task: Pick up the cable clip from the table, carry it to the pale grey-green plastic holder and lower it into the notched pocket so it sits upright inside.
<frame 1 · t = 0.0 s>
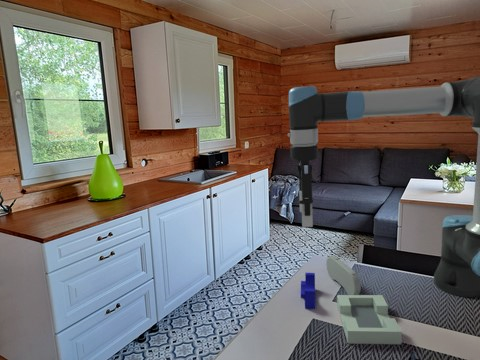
hand: (305, 218, 102), 28 cm above the table, tool pointing down, fingers open, 13 cm apart
slide sandal: (342, 286, 119), on the table
holder: (366, 323, 98), on the table
cable clip: (307, 299, 112), on the table
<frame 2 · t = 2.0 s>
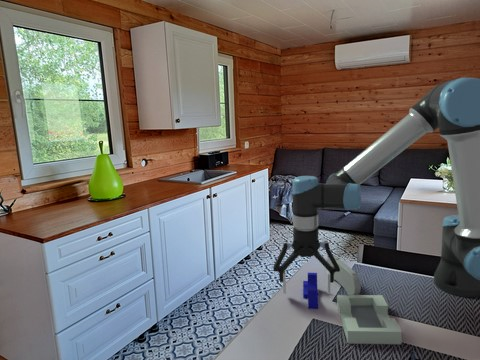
hand: (306, 291, 112), 2 cm above the table, tool pointing down, fingers open, 13 cm apart
nothing on the table moved.
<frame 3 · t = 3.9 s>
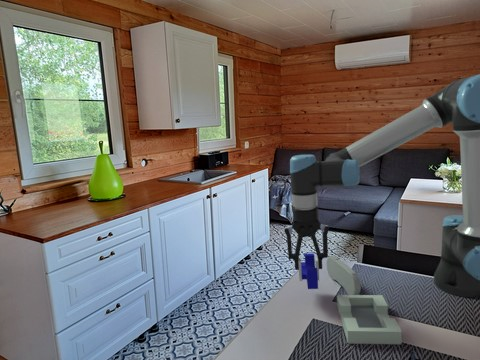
hand: (309, 278, 111), 7 cm above the table, tool pointing down, fingers closed on cable clip, 4 cm apart
cable clip: (309, 279, 111), point 6 cm above the table, touching gripper
everything else where it was.
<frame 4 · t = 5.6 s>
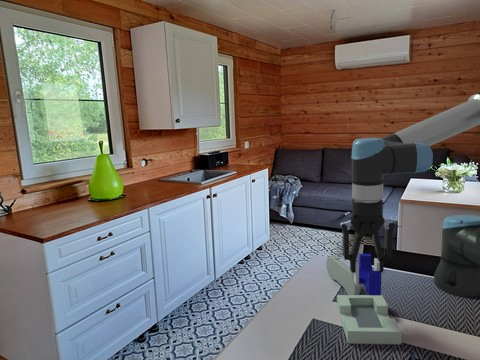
hand: (366, 282, 95), 12 cm above the table, tool pointing down, fingers closed on cable clip, 4 cm apart
cable clip: (366, 284, 95), point 12 cm above the table, touching gripper
everything else where it was.
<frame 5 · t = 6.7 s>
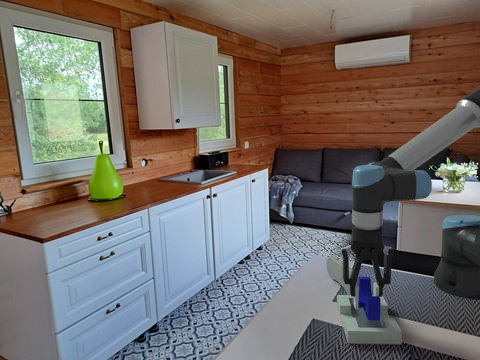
hand: (365, 306, 97), 5 cm above the table, tool pointing down, fingers closed on cable clip, 4 cm apart
cable clip: (365, 308, 97), point 5 cm above the table, touching gripper
everything else where it was.
when the fingers open (2 cm above the table, at t = 7.6 s): cable clip stays where it is, resting on holder.
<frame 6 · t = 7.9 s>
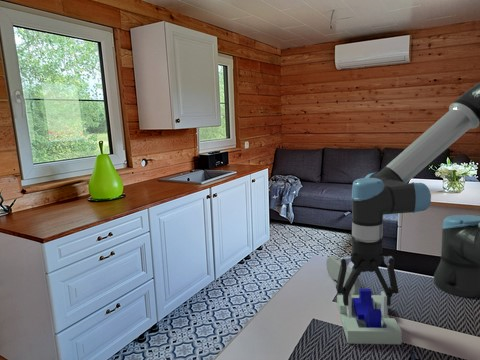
hand: (366, 315, 97), 2 cm above the table, tool pointing down, fingers open, 8 cm apart
cable clip: (366, 320, 98), point 1 cm above the table, touching holder
everything else where it was.
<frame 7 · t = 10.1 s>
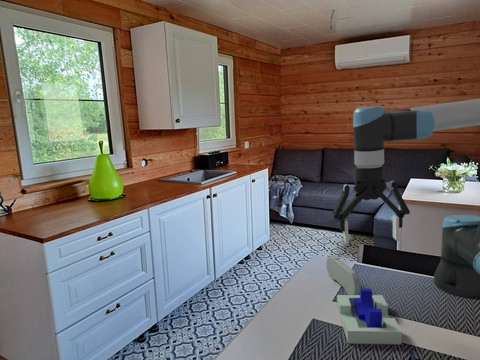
hand: (370, 240, 99), 22 cm above the table, tool pointing down, fingers open, 13 cm apart
nothing on the table moved.
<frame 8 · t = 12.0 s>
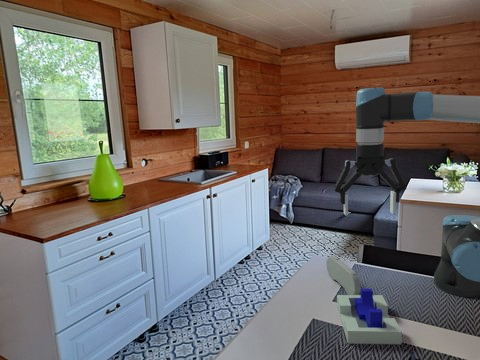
hand: (369, 213, 107), 27 cm above the table, tool pointing down, fingers open, 13 cm apart
nothing on the table moved.
at the end: cable clip 0.4 cm off-centre on the holder, point 0.9 cm above the holder's base; cable clip tilted 0°; the gripper is holding nothing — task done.
